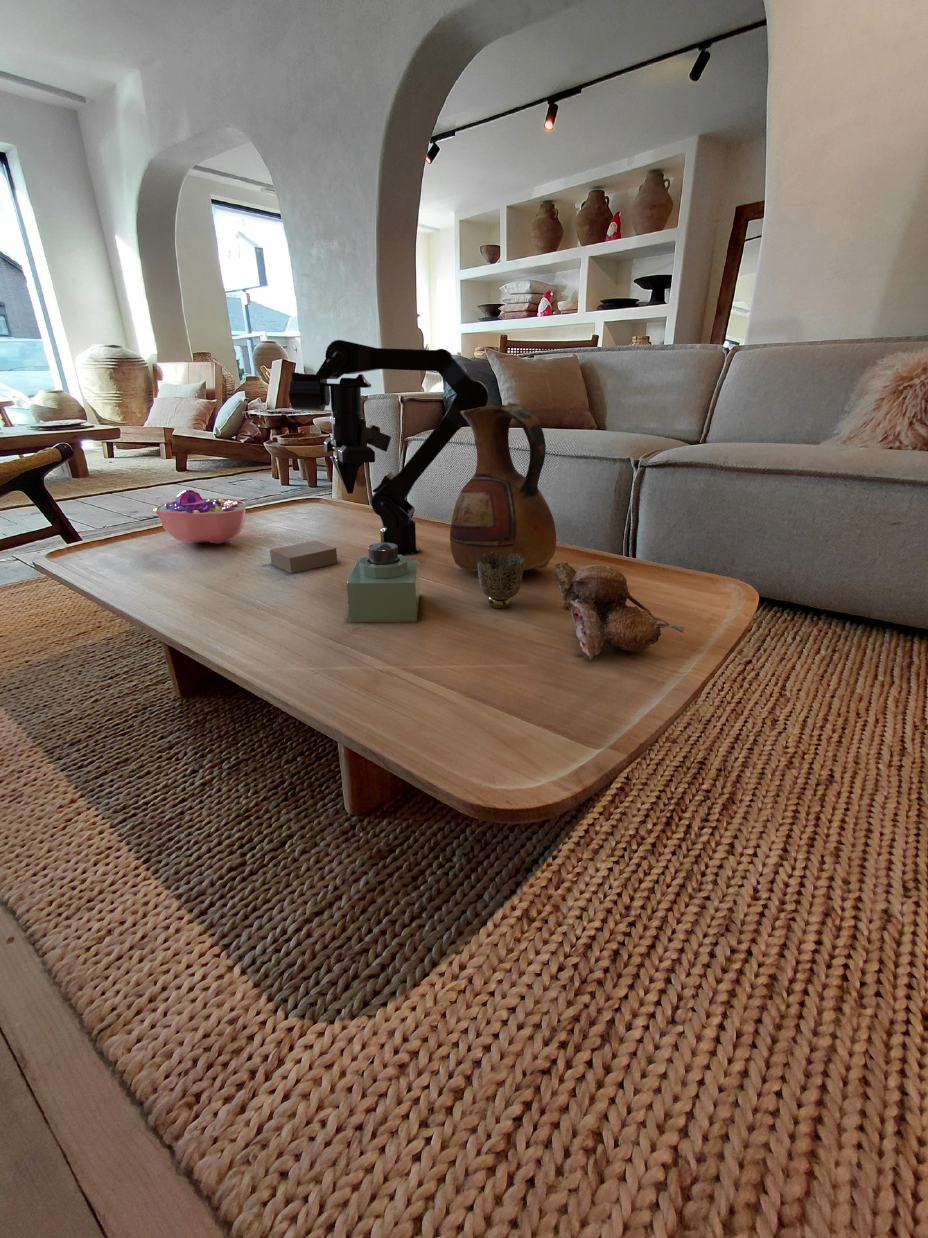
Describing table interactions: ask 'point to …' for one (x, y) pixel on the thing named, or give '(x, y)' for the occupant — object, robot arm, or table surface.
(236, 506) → the cell model
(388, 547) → the dark grey metal cylinder
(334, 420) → the robot arm
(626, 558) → the table surface
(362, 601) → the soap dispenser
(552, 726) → the table surface
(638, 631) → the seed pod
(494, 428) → the ceramic pitcher
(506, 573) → the cup
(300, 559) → the brown rectangular block
